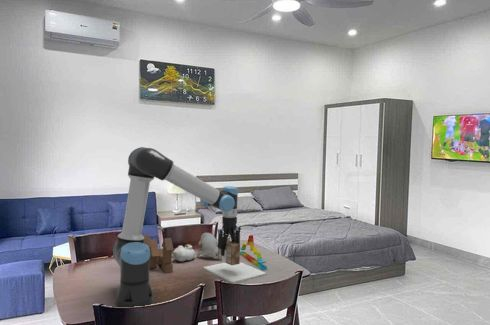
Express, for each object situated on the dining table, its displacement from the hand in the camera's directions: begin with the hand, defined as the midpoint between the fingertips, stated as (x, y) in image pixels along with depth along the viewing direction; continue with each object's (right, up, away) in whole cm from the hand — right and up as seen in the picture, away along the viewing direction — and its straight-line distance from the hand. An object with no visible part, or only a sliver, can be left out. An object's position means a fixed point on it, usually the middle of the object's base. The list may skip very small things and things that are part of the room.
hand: (228, 260), depth 189 cm
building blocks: (-41, -6, +2) cm, 41 cm away
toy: (-10, -6, +25) cm, 27 cm away
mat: (+3, -7, +4) cm, 9 cm away
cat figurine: (-27, -5, +20) cm, 34 cm away
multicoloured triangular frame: (+13, -7, +22) cm, 27 cm away
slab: (0, 0, 0) cm, 0 cm away
